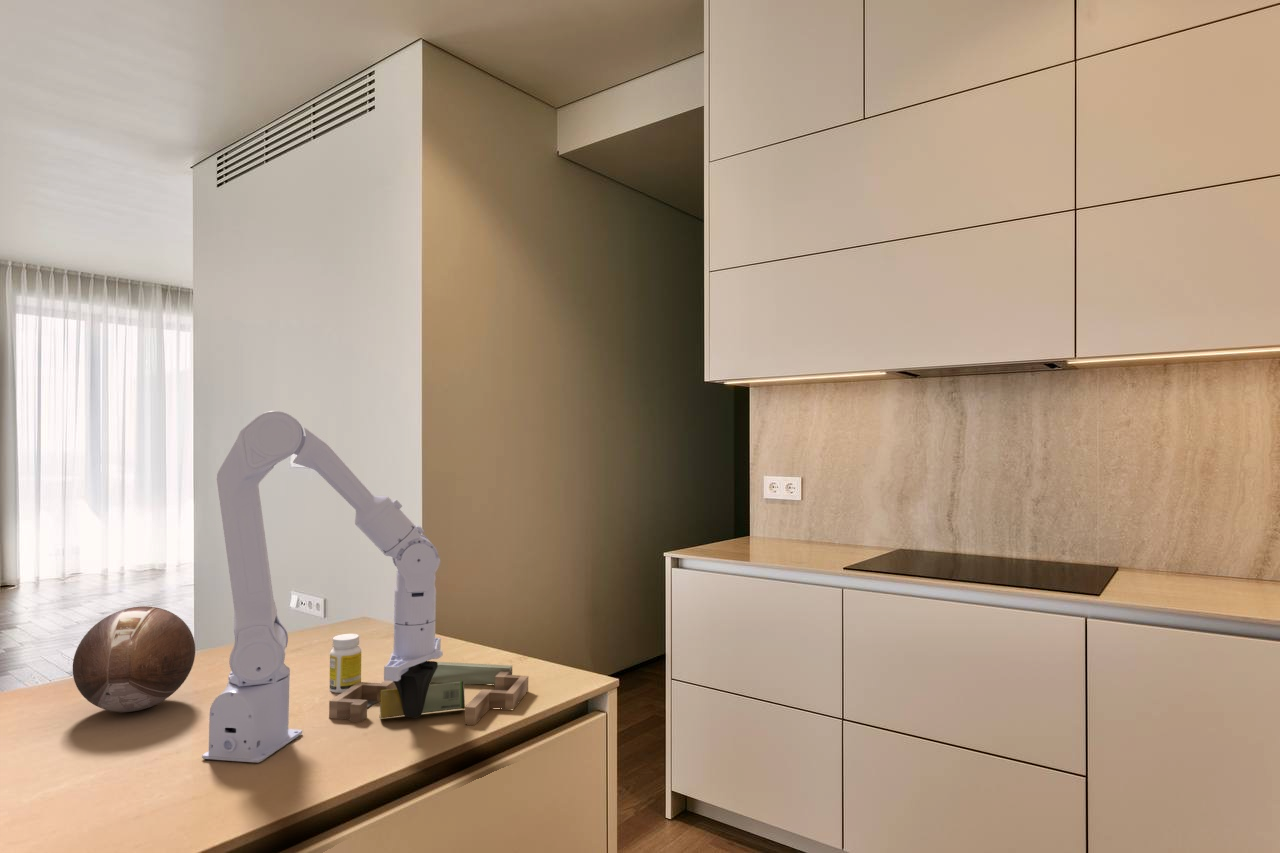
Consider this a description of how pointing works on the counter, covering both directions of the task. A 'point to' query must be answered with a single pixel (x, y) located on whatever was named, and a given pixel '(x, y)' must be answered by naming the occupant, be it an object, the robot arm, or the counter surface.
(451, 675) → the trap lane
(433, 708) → the medication box
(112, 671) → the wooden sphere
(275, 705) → the robot arm
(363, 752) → the counter surface
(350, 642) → the supplement bottle
